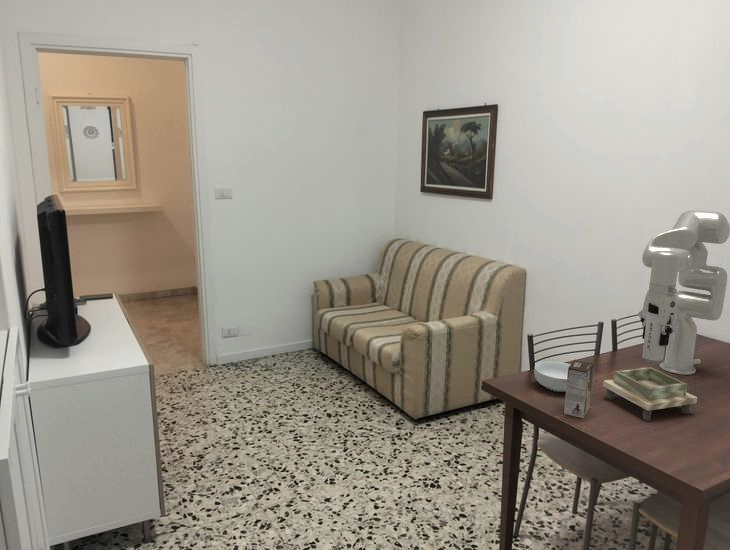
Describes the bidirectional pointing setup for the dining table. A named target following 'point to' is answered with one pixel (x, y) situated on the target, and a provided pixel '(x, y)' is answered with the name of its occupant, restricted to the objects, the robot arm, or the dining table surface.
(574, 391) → the coffee box
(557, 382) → the cereal bowl
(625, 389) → the framed shelf
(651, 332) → the travel mug
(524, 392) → the dining table surface
